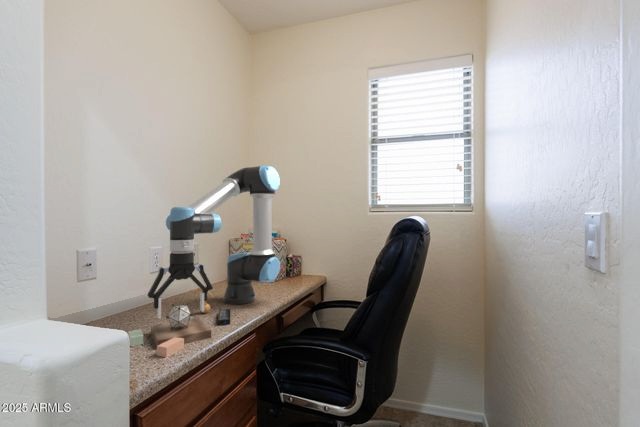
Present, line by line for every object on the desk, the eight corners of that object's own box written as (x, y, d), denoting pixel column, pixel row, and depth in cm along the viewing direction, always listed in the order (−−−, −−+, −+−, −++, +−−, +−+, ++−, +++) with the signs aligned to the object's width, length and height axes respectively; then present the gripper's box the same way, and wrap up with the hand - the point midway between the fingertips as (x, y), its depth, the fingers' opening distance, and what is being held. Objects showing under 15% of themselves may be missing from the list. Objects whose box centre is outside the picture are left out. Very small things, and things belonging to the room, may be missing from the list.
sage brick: (127, 340, 100) (128, 331, 100) (140, 338, 102) (140, 329, 102) (130, 347, 94) (130, 338, 94) (143, 345, 96) (143, 335, 96)
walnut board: (198, 324, 115) (198, 317, 115) (211, 337, 102) (211, 330, 102) (150, 333, 106) (150, 325, 106) (157, 349, 93) (157, 340, 93)
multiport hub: (230, 314, 129) (230, 308, 129) (230, 325, 115) (230, 319, 115) (219, 315, 128) (219, 309, 128) (217, 326, 114) (218, 320, 114)
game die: (181, 340, 102) (180, 322, 97) (160, 329, 104) (158, 311, 98) (199, 320, 110) (199, 302, 104) (179, 310, 111) (178, 292, 106)
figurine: (216, 312, 130) (217, 284, 130) (209, 316, 124) (209, 287, 124) (198, 311, 131) (199, 283, 132) (190, 315, 125) (191, 286, 126)
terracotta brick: (174, 346, 95) (174, 337, 95) (183, 348, 94) (184, 338, 94) (156, 356, 88) (156, 346, 88) (166, 358, 87) (166, 347, 87)
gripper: (141, 255, 94) (140, 324, 94) (221, 250, 109) (221, 310, 108) (138, 253, 100) (138, 318, 100) (215, 248, 115) (215, 305, 115)
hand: (181, 314), depth 104 cm, fingers open, 13 cm apart
